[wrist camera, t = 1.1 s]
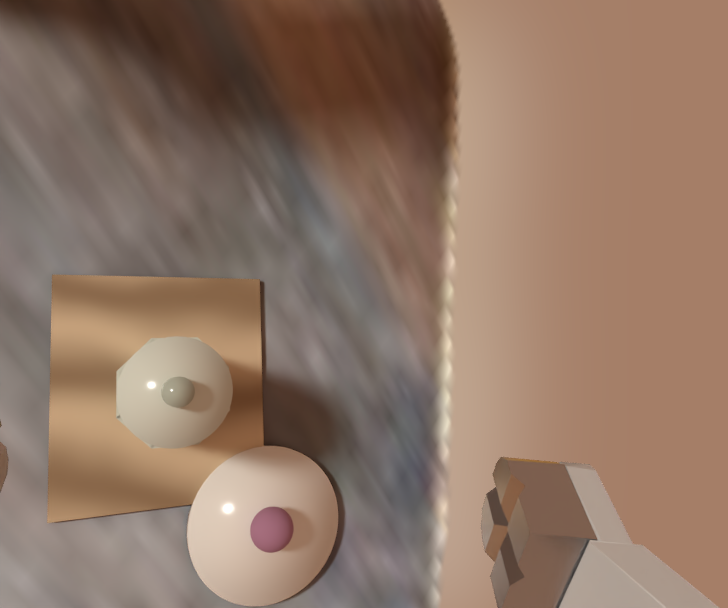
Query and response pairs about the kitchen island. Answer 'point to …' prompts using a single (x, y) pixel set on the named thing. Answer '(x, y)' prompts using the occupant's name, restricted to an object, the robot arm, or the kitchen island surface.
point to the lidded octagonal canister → (173, 392)
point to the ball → (271, 529)
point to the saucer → (234, 517)
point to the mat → (98, 388)
